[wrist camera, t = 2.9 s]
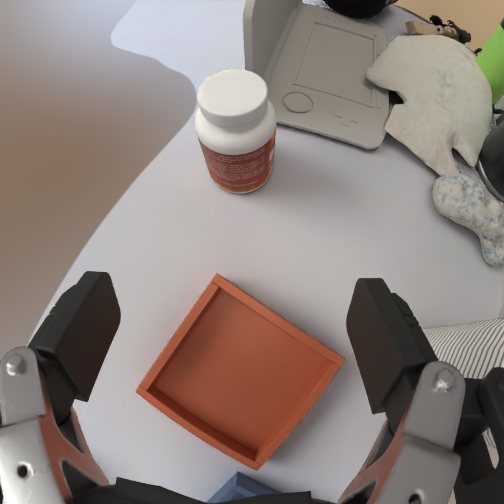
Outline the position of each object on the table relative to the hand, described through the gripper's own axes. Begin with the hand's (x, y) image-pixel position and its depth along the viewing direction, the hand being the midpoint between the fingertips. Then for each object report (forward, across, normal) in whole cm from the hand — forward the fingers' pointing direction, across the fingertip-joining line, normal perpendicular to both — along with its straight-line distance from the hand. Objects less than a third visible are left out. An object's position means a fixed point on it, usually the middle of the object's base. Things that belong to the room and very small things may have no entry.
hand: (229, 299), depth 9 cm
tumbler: (+33, -39, -15) cm, 54 cm away
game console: (+32, -11, -12) cm, 36 cm away
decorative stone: (+17, -25, +4) cm, 31 cm away
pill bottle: (+21, 0, +1) cm, 21 cm away
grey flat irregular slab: (+20, -18, -2) cm, 27 cm away
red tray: (+8, 0, +15) cm, 17 cm away
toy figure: (+36, -26, -24) cm, 50 cm away
